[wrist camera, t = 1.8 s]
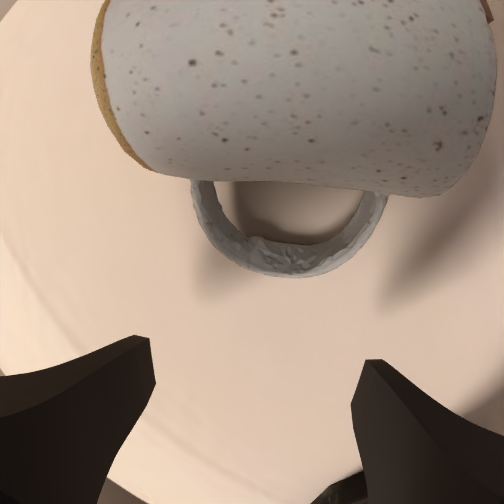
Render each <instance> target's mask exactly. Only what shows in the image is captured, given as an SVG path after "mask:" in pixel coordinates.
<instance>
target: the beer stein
mask: <svg viewBox="0 0 504 504" xmlns="http://www.w3.org/2000/svg"><path fill="white" fill-rule="evenodd" d="M311 504H368V491H367V484H366V478H365V474H364V471H362V472H360V473H358V474H355V475H353V476H351V477H349V478H347V479H344V480H342V481H340V482H337V483H335V484H332V485H330V486H328V487H327V488H326V489H325V490H324V491H323V492H322V493H321V494H320V495H319V496H318V497H317V498H316V499H315V500H314V501H313V502H312V503H311Z"/></svg>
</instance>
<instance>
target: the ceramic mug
mask: <svg viewBox="0 0 504 504" xmlns="http://www.w3.org/2000/svg"><path fill="white" fill-rule="evenodd" d="M91 74H92V80H93V86H94V91H95V94H96V98H97V101H98V105H99V108H100V110H101V113H102V115H103V117H104V119H105V121H106V123H107V125H108V127H109V129H110V130H111V132H112V133H113V135H114V136H115V138H116V140H117V141H118V143H119V144H120V146H121V147H122V149H123V150H124V152H126V153H127V154H128V155H129V156H131V157H132V158H133V159H134V160H135V161H137V162H138V163H139V164H140V165H142V166H143V167H144V168H146V169H148V170H150V171H154V172H157V173H161V174H164V175H169V176H175V177H181V178H187V179H190V180H191V194H192V198H193V207H194V209H195V211H196V214H197V218H198V221H199V224H200V225H201V227H202V229H203V230H204V232H205V234H206V235H207V237H208V239H209V241H210V242H211V243H212V244H213V246H214V247H215V248H216V249H217V250H219V251H220V252H221V253H222V254H223V255H225V256H226V257H227V258H228V259H230V260H232V261H233V262H235V263H236V264H238V265H239V266H241V267H243V268H246V269H249V270H251V271H254V272H258V273H262V274H264V275H269V276H275V277H283V278H305V277H312V276H317V275H321V274H324V273H327V272H329V271H331V270H333V269H335V268H337V267H339V266H340V265H342V264H343V263H345V262H346V261H348V260H349V259H350V258H351V257H352V256H353V255H354V254H355V253H356V252H357V251H358V250H359V249H360V248H361V247H362V246H363V245H364V244H365V242H366V241H367V240H368V238H369V237H370V236H371V234H372V233H373V231H374V229H375V227H376V225H377V223H378V221H379V219H380V217H381V215H382V212H383V209H384V207H385V205H386V203H387V198H388V196H389V195H390V194H394V195H401V196H407V197H414V198H424V197H431V196H438V195H441V194H442V193H444V192H445V191H447V190H448V189H449V188H451V187H452V186H453V185H454V184H455V183H456V182H457V181H458V180H459V179H460V178H461V177H462V176H463V175H464V173H465V172H466V171H467V170H468V168H469V167H470V165H471V163H472V162H473V160H474V159H475V157H476V156H477V154H478V151H479V149H480V147H481V144H482V142H483V139H484V137H485V134H486V131H487V128H488V126H489V123H490V118H491V114H492V109H493V104H494V97H495V87H496V76H497V64H496V53H495V47H494V41H493V36H492V32H491V28H490V26H489V25H488V23H487V19H486V14H485V11H484V9H483V6H482V4H481V2H480V0H105V2H104V3H103V5H102V7H101V9H100V12H99V14H98V17H97V19H96V24H95V29H94V33H93V40H92V47H91ZM213 181H275V182H291V183H303V184H311V185H319V186H327V187H334V188H346V189H356V190H365V192H364V196H363V198H362V201H361V203H360V205H359V207H358V209H357V211H356V212H355V214H354V215H353V217H352V219H351V220H350V222H349V223H348V225H347V226H346V227H345V228H344V229H343V230H342V231H341V232H339V233H338V234H337V235H336V236H334V237H332V238H331V239H330V240H328V241H325V242H323V243H316V244H313V245H311V246H310V245H297V244H290V243H282V242H274V241H269V240H265V239H264V238H262V237H260V236H253V237H247V236H246V235H244V234H243V233H241V232H240V231H238V230H237V229H236V227H235V226H234V225H233V224H232V223H231V222H230V221H229V220H228V219H227V218H226V216H225V214H224V212H223V210H222V206H221V204H220V203H219V201H218V198H217V194H216V190H215V187H214V182H213Z"/></svg>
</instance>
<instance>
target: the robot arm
mask: <svg viewBox="0 0 504 504" xmlns="http://www.w3.org/2000/svg"><path fill="white" fill-rule="evenodd" d="M155 385H156V381H155V375H154V369H153V362H152V355H151V348H150V340H149V338H146V337H141V336H137V335H132V336H129V337H127V338H124V339H122V340H119V341H117V342H115V343H112V344H110V345H108V346H105V347H103V348H101V349H98V350H96V351H94V352H91V353H89V354H87V355H84V356H82V357H79V358H76V359H74V360H71V361H68V362H66V363H63V364H60V365H57V366H54V367H50V368H47V369H43V370H39V371H35V372H30V373H24V374H17V375H10V376H0V504H97V501H98V498H99V495H100V492H101V490H102V487H103V484H104V482H105V479H106V477H107V474H108V472H109V470H110V467H111V465H112V463H113V461H114V458H115V456H116V455H117V453H118V451H119V449H120V448H121V446H122V444H123V443H124V441H125V440H126V438H127V436H128V435H129V433H130V432H131V430H132V428H133V427H134V425H135V424H136V422H137V420H138V419H139V417H140V416H141V414H142V412H143V411H144V409H145V407H146V406H147V403H148V401H149V399H150V397H151V394H152V392H153V390H154V387H155ZM351 412H352V421H353V429H354V433H355V437H356V441H357V445H358V449H359V453H360V457H361V461H362V466H363V470H364V474H365V478H366V484H367V491H368V504H504V436H503V435H500V434H497V433H494V432H492V431H489V430H487V429H484V428H482V427H480V426H477V425H475V424H473V423H471V422H469V421H468V420H466V419H464V418H462V417H460V416H458V415H457V414H455V413H453V412H452V411H450V410H449V409H447V408H446V407H444V406H443V405H441V404H440V403H438V402H437V401H435V400H434V399H433V398H431V397H430V396H429V395H427V394H426V393H425V392H423V391H422V390H421V389H419V388H418V387H417V386H416V385H414V384H413V383H412V382H411V381H409V380H408V379H407V378H406V377H404V376H403V375H402V374H401V373H400V372H398V371H397V370H396V369H395V368H393V367H392V366H391V365H389V364H388V363H387V362H385V361H384V360H382V359H373V360H365V363H364V366H363V370H362V373H361V376H360V379H359V382H358V385H357V388H356V391H355V394H354V396H353V399H352V402H351Z"/></svg>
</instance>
